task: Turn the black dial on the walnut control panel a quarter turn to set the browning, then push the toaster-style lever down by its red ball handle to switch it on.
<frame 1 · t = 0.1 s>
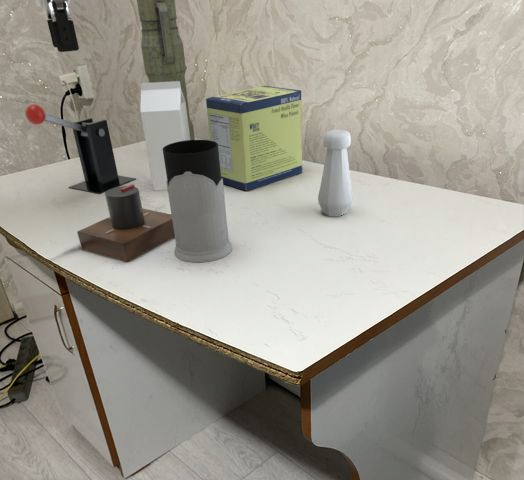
hand: (65, 48, 88), 25 cm above the table, tool pointing down, fingers open, 9 cm apart
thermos: (177, 156, 126), on the table
lever: (64, 123, 97), point 14 cm above the table, hinge at 25.0°
milk carton: (175, 189, 106), on the table
dial panel: (132, 241, 85), on the table
dial: (124, 206, 82), point 6 cm above the table, hinge at 0.0°
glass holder: (206, 243, 83), on the table
salt shaker: (335, 213, 91), on the table
lever bracket: (103, 188, 108), on the table
protein box: (258, 177, 109), on the table
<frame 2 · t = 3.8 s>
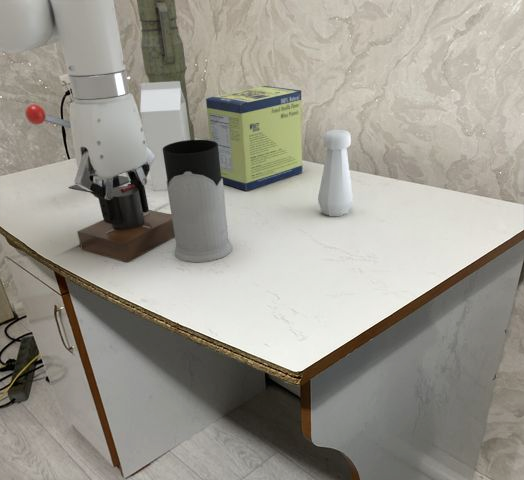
hand: (126, 215, 82), 4 cm above the table, tool pointing down, fingers closed on dial, 5 cm apart
dial: (124, 206, 82), point 6 cm above the table, hinge at 0.0°, touching gripper
everything else where it was.
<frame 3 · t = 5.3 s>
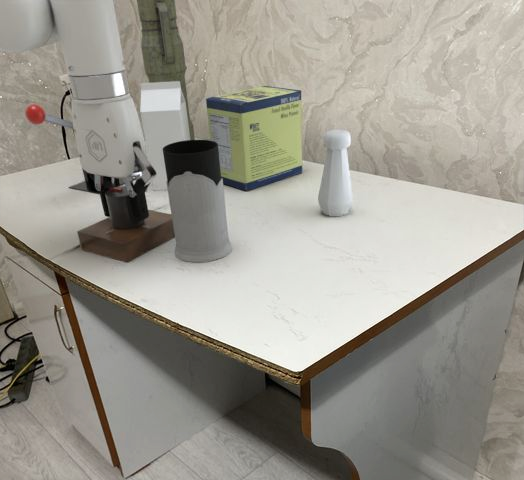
hand: (126, 215, 82), 4 cm above the table, tool pointing down, fingers closed on dial, 5 cm apart
dial: (124, 206, 82), point 6 cm above the table, hinge at 90.1°, touching gripper
everything else where it was.
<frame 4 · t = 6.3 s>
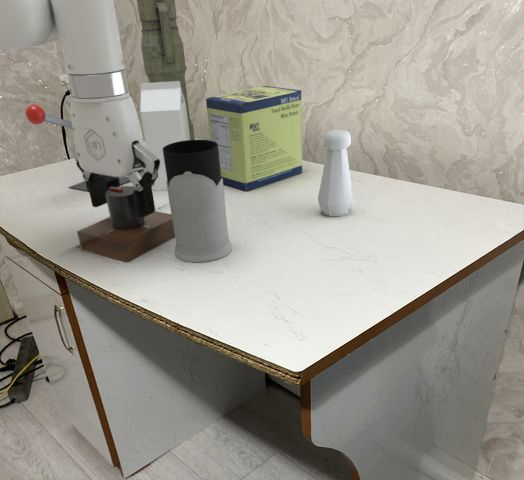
hand: (123, 209, 82), 5 cm above the table, tool pointing down, fingers open, 9 cm apart
dial: (124, 206, 82), point 6 cm above the table, hinge at 89.3°
everything else where it was.
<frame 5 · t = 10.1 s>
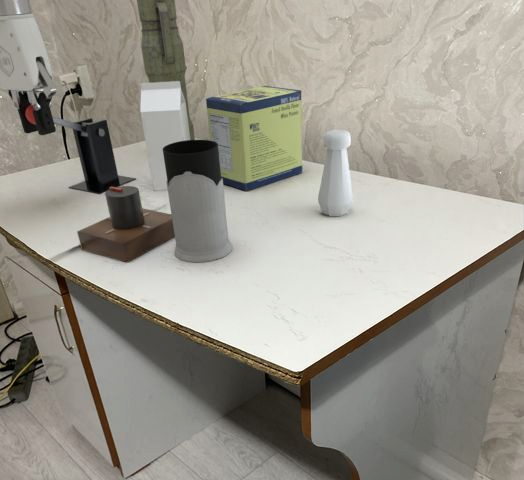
hand: (40, 131, 93), 13 cm above the table, tool pointing down, fingers closed on lever, 3 cm apart
lever: (64, 123, 97), point 14 cm above the table, hinge at 25.0°, touching gripper
everything else where it was.
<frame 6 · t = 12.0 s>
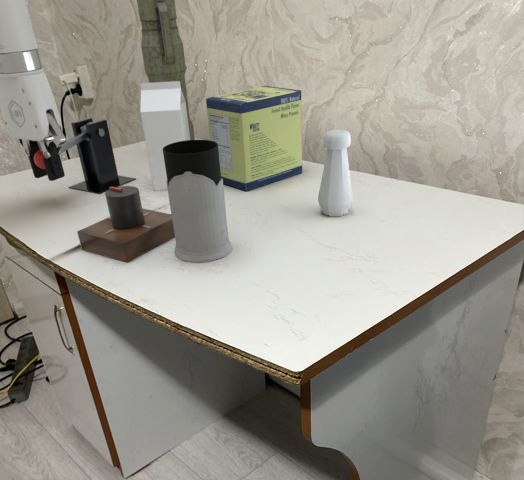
hand: (49, 176, 97), 6 cm above the table, tool pointing down, fingers closed on lever, 3 cm apart
lever: (67, 145, 99), point 10 cm above the table, hinge at -10.8°, touching gripper
everything else where it was.
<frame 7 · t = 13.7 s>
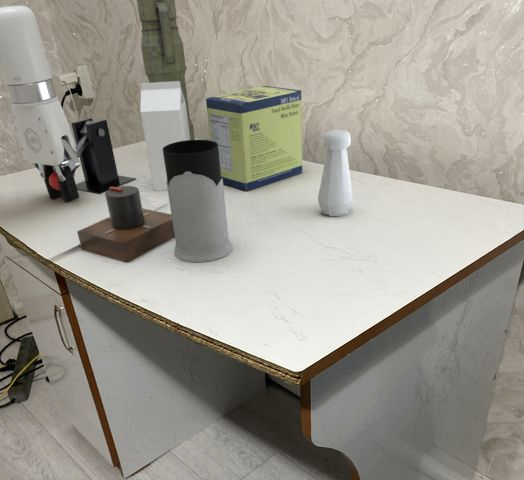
hand: (64, 197, 101), 1 cm above the table, tool pointing down, fingers closed on lever, 3 cm apart
lever: (74, 156, 100), point 8 cm above the table, hinge at -33.3°, touching gripper
everything else where it was.
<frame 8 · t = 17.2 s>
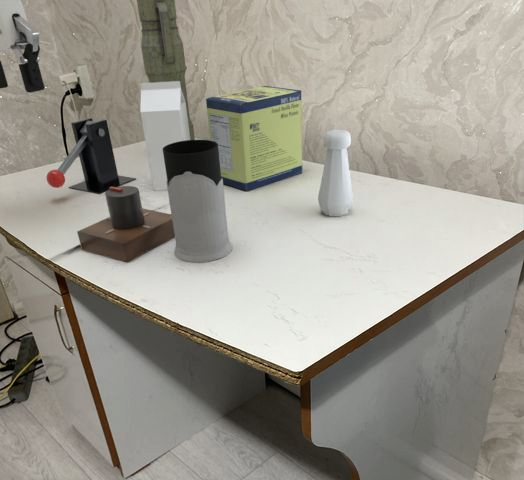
hand: (17, 89, 88), 20 cm above the table, tool pointing down, fingers open, 9 cm apart
lever: (73, 155, 100), point 8 cm above the table, hinge at -30.4°
everything else where it was.
at the end: dial at +89° (first picture: +0°); lever at -30° (first picture: +25°) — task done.
